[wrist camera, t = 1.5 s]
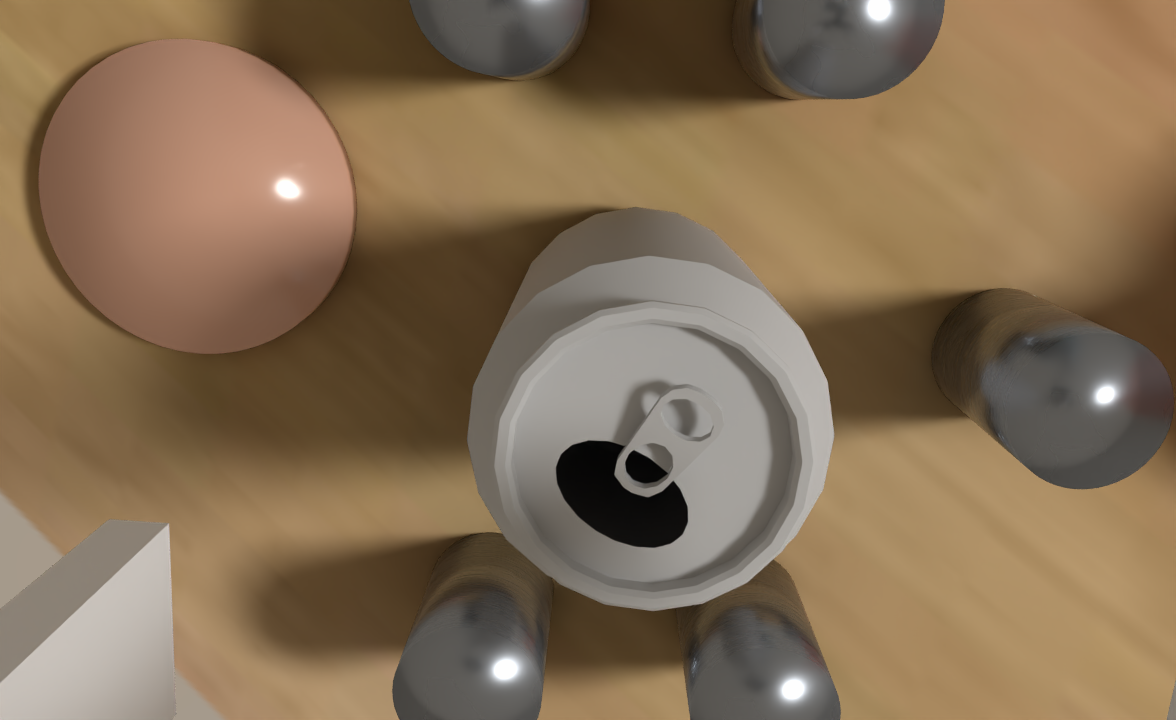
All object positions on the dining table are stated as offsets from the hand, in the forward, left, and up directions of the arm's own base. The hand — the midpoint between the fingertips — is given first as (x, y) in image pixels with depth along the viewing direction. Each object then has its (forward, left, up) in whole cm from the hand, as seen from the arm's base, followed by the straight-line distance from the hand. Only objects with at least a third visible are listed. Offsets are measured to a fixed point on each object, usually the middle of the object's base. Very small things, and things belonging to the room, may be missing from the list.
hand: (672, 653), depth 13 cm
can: (0, 0, -18) cm, 18 cm away
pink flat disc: (-3, -13, -18) cm, 23 cm away
